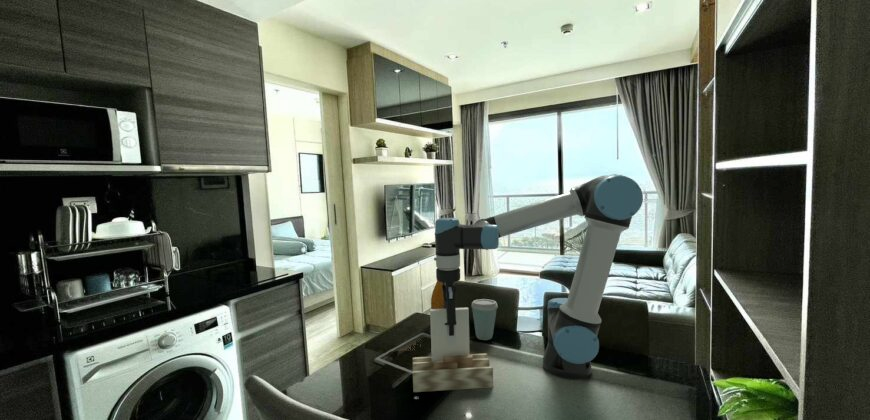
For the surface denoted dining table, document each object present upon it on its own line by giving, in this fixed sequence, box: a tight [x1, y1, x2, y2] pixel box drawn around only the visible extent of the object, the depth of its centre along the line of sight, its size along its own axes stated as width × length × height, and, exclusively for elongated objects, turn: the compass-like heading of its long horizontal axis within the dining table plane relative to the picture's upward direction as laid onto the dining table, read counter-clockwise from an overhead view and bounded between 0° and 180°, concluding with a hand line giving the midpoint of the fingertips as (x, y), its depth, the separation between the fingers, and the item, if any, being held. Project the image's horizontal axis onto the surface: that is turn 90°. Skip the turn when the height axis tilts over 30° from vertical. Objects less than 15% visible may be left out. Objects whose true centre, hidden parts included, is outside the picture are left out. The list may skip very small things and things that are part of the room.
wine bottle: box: [430, 267, 444, 309], centre depth 158 cm, size 10×10×30 cm
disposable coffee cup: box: [471, 298, 499, 341], centre depth 145 cm, size 11×11×15 cm
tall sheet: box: [429, 307, 471, 361], centre depth 113 cm, size 12×2×22 cm, turn 93°
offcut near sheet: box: [443, 355, 473, 368], centre depth 111 cm, size 9×2×8 cm, turn 93°
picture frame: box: [373, 332, 431, 375], centre depth 134 cm, size 19×2×30 cm
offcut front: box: [434, 362, 458, 370], centre depth 109 cm, size 7×2×7 cm, turn 93°
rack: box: [412, 353, 494, 393], centre depth 111 cm, size 24×9×7 cm, turn 93°
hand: (450, 338), depth 113 cm, fingers open, 8 cm apart
